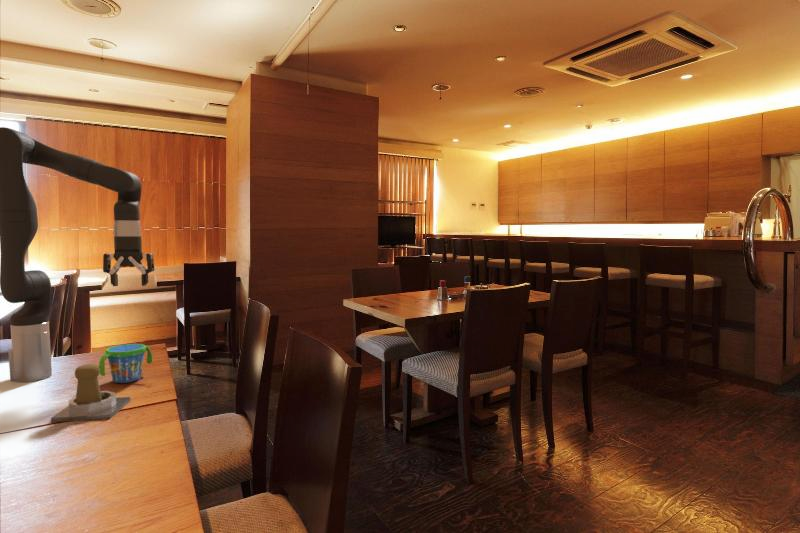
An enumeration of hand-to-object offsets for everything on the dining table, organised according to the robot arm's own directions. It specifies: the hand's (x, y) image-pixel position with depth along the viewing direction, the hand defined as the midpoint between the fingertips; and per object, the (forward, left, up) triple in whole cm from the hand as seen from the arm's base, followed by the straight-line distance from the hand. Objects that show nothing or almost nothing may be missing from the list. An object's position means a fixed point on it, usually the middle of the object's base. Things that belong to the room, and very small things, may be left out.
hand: (129, 285), depth 146 cm
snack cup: (+2, -8, -28) cm, 30 cm away
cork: (+2, -33, -27) cm, 43 cm away
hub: (+3, -33, -28) cm, 43 cm away
